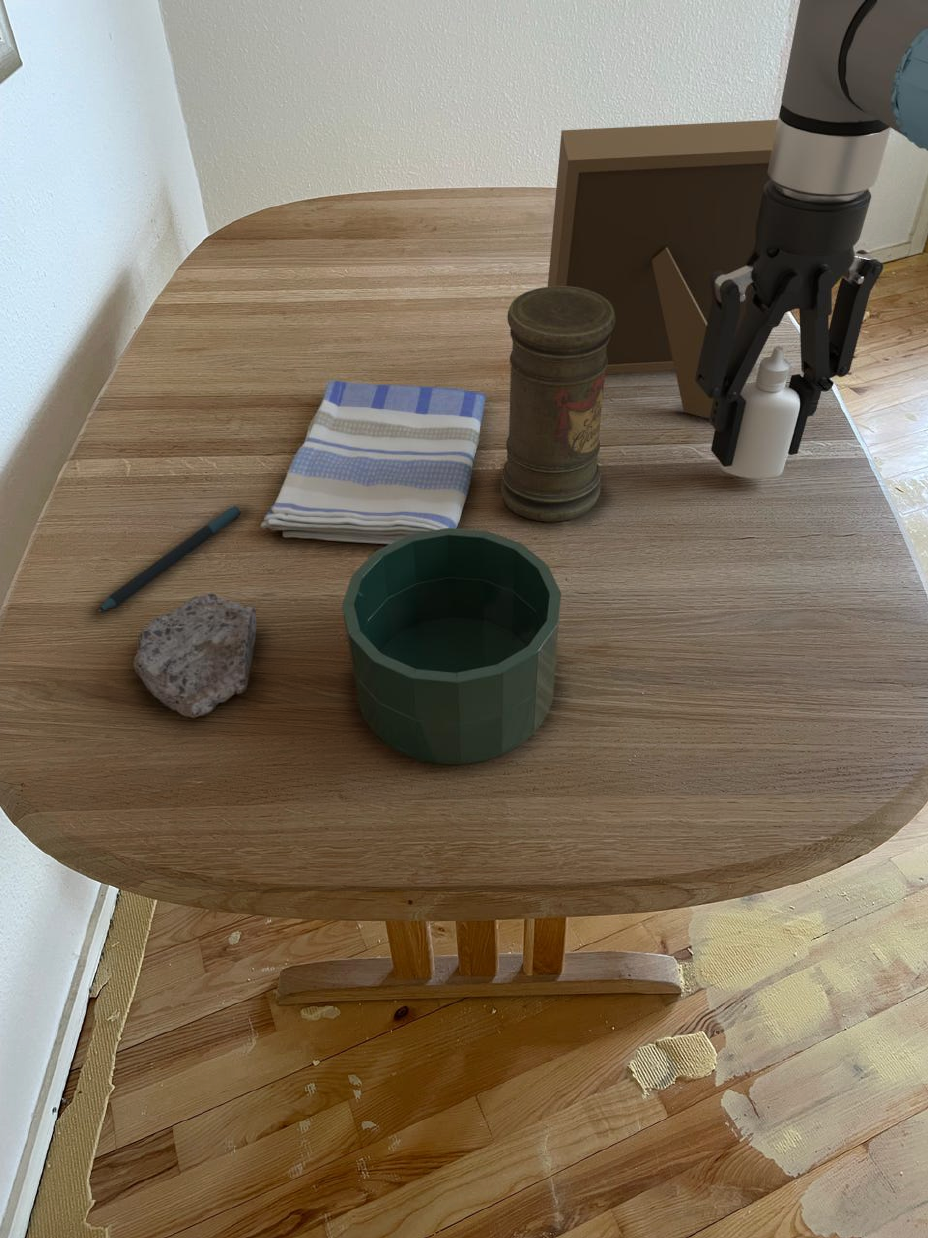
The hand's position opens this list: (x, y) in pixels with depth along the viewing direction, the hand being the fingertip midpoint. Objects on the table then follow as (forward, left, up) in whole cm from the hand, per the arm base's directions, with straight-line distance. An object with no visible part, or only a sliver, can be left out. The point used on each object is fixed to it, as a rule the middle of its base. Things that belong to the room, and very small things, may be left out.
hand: (754, 451), depth 82 cm
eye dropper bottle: (0, 0, -2) cm, 2 cm away
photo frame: (+17, +2, -4) cm, 18 cm away
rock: (-10, +50, -4) cm, 51 cm away
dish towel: (+11, +32, -4) cm, 34 cm away
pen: (+3, +52, -4) cm, 52 cm away
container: (+3, +18, -4) cm, 19 cm away
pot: (-17, +32, -3) cm, 36 cm away
